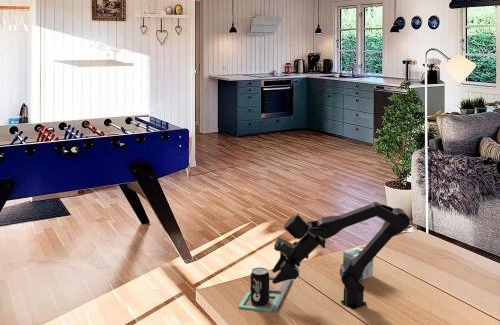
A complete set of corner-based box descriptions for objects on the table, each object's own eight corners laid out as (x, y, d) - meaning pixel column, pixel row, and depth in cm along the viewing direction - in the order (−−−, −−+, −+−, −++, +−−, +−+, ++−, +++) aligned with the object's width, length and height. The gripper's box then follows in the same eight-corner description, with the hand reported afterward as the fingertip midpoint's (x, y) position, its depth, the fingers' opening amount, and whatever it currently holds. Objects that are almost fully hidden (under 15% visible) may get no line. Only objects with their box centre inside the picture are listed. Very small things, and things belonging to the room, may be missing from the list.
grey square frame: (258, 276, 217) (258, 274, 217) (288, 279, 214) (288, 278, 213) (250, 289, 205) (250, 287, 205) (281, 293, 202) (281, 291, 202)
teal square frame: (247, 292, 203) (247, 291, 202) (279, 296, 199) (279, 295, 199) (238, 307, 191) (238, 306, 191) (272, 312, 188) (272, 310, 188)
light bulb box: (354, 283, 210) (355, 256, 208) (341, 277, 216) (342, 251, 213) (373, 276, 217) (374, 250, 214) (360, 270, 222) (361, 245, 219)
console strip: (269, 277, 215) (269, 275, 215) (292, 280, 213) (292, 277, 213) (250, 309, 190) (250, 306, 190) (276, 312, 188) (276, 310, 188)
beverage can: (271, 305, 193) (271, 273, 190) (253, 307, 191) (253, 275, 189) (266, 297, 199) (266, 265, 197) (248, 299, 198) (248, 268, 195)
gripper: (287, 222, 198) (257, 251, 201) (288, 241, 180) (255, 273, 183) (309, 243, 200) (279, 272, 203) (312, 263, 181) (279, 295, 184)
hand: (272, 277), depth 193 cm, fingers open, 9 cm apart
